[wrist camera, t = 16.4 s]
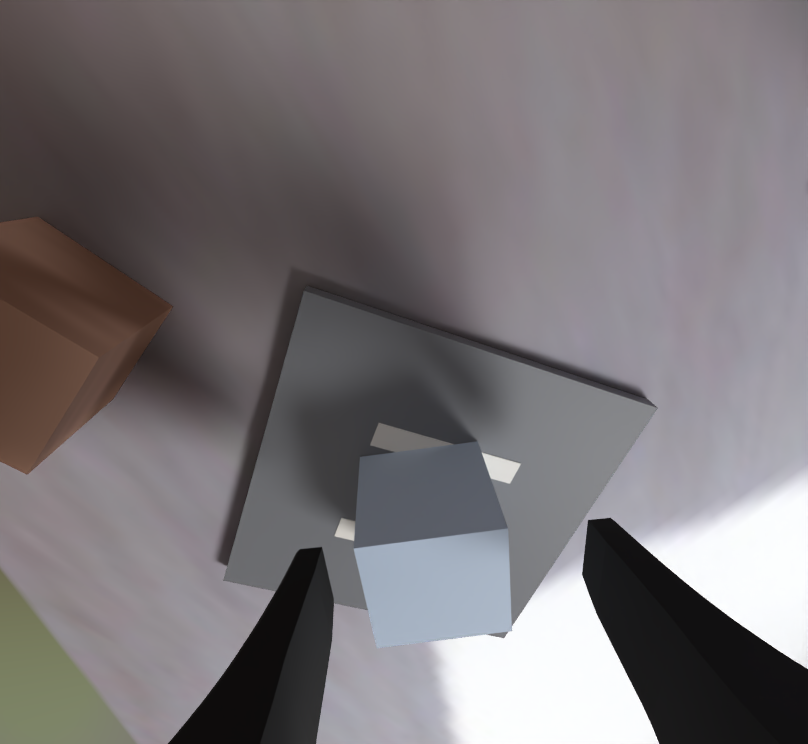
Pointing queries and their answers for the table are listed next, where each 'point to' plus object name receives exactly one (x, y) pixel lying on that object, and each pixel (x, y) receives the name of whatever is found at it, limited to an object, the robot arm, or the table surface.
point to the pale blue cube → (431, 546)
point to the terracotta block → (62, 337)
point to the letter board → (421, 440)
